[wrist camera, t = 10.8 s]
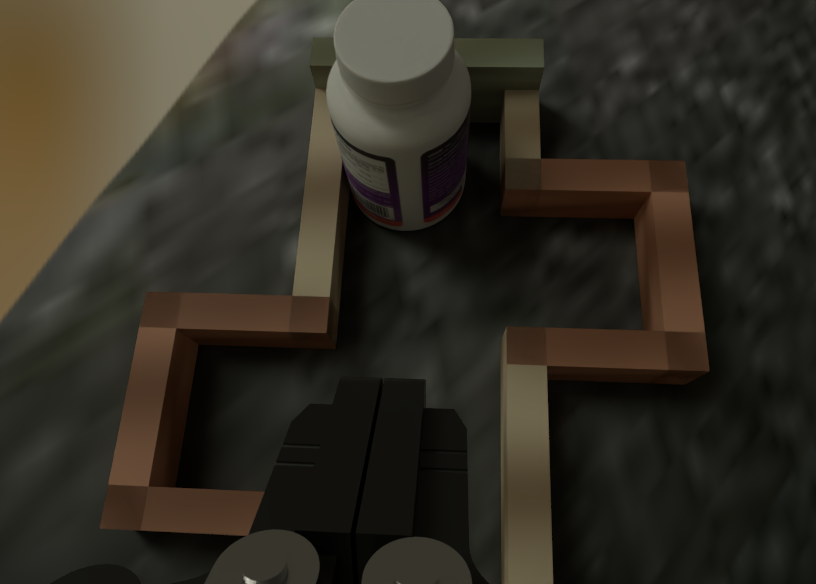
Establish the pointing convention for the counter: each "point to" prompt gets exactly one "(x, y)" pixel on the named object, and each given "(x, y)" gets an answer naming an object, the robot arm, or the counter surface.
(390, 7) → the pill bottle
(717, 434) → the counter surface
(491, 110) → the trap channel
